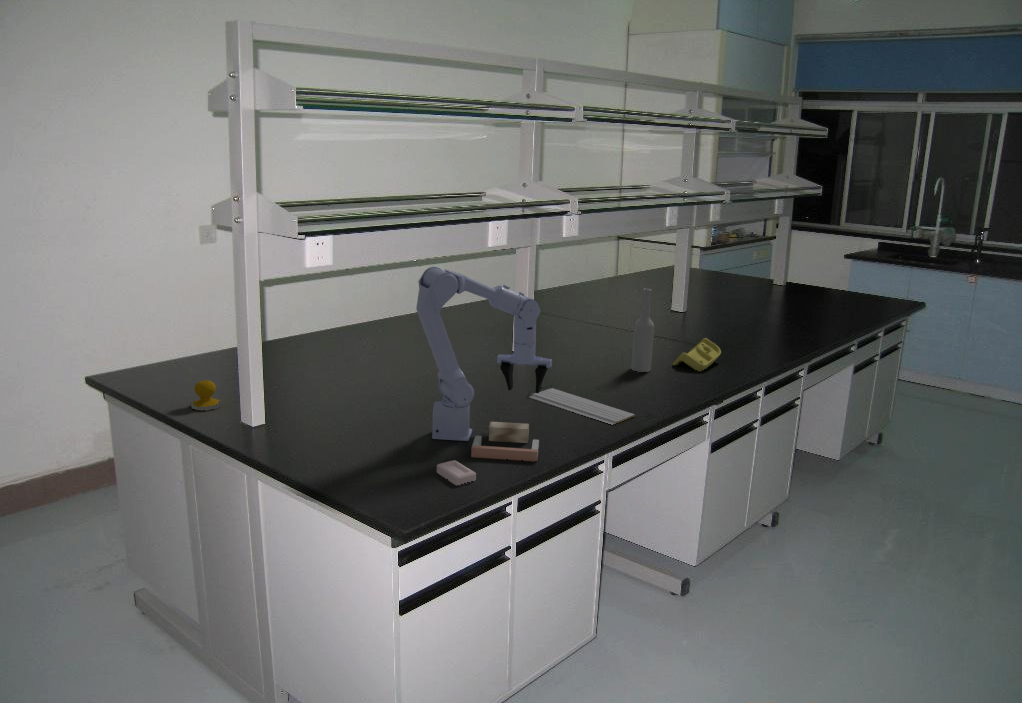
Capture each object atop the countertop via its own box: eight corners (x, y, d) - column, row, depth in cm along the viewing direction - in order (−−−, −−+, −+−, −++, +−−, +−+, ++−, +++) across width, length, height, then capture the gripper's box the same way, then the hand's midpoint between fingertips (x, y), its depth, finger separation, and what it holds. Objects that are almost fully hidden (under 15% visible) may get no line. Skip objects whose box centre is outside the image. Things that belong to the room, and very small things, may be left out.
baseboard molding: (609, 429, 218) (634, 419, 227) (610, 419, 218) (635, 409, 226) (525, 400, 239) (551, 392, 247) (525, 391, 238) (552, 383, 246)
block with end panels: (471, 457, 195) (471, 447, 194) (475, 444, 202) (475, 435, 202) (536, 461, 193) (537, 452, 193) (538, 449, 201) (539, 439, 200)
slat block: (488, 441, 205) (489, 427, 204) (490, 435, 209) (490, 421, 208) (527, 443, 205) (528, 429, 204) (528, 438, 209) (528, 423, 208)
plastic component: (704, 366, 271) (680, 349, 275) (693, 383, 275) (670, 366, 279) (725, 351, 287) (702, 335, 290) (715, 366, 291) (692, 350, 294)
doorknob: (195, 413, 216) (187, 405, 222) (225, 408, 221) (216, 400, 227) (194, 387, 214) (185, 379, 220) (224, 382, 219) (214, 375, 225)
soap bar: (455, 468, 189) (455, 458, 188) (476, 482, 182) (477, 472, 181) (435, 473, 186) (435, 463, 185) (456, 487, 179) (457, 477, 178)
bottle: (634, 373, 269) (641, 291, 261) (628, 367, 275) (634, 287, 267) (653, 372, 270) (660, 291, 263) (646, 367, 276) (653, 287, 269)
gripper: (555, 340, 212) (554, 388, 216) (502, 335, 216) (502, 383, 220) (548, 347, 205) (547, 397, 209) (494, 342, 209) (494, 391, 213)
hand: (524, 390), depth 214 cm, fingers open, 7 cm apart
